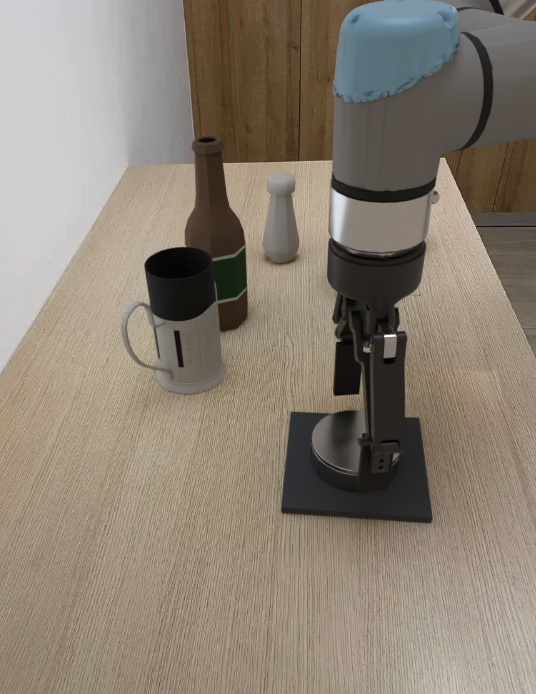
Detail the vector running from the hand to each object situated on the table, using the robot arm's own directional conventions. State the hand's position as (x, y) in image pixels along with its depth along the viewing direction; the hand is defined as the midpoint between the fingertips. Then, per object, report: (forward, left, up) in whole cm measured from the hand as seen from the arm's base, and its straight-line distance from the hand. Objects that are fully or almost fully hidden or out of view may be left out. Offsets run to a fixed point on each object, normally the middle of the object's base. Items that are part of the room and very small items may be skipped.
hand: (358, 436), depth 63 cm
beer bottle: (+18, -27, -4) cm, 33 cm away
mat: (0, 0, -4) cm, 4 cm away
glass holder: (+21, -12, -4) cm, 25 cm away
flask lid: (0, 0, -1) cm, 1 cm away
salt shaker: (+11, -45, -4) cm, 46 cm away
